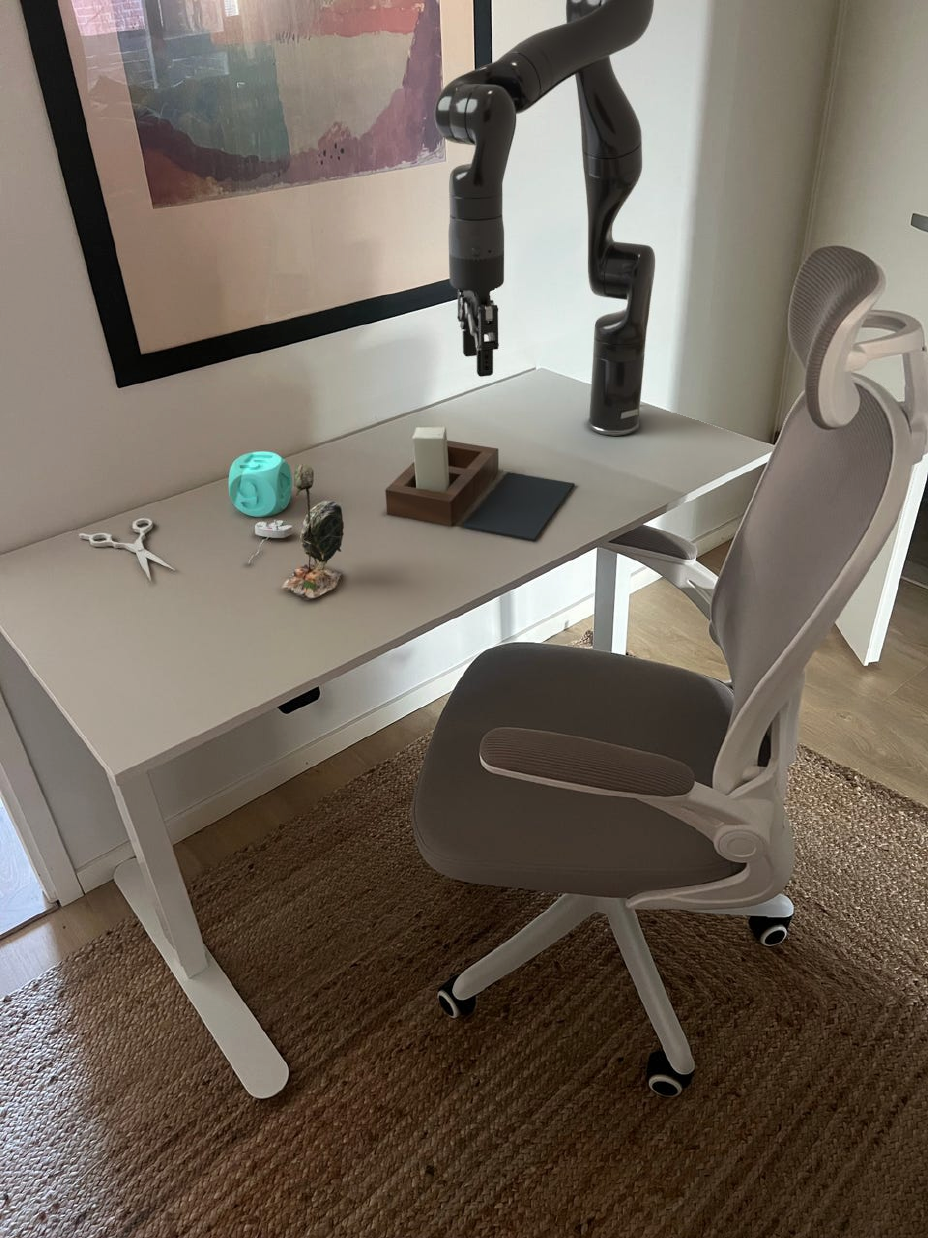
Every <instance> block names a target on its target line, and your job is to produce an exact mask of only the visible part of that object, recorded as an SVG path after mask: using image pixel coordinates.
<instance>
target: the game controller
mask: <svg viewBox="0 0 928 1238" xmlns="http://www.w3.org/2000/svg"><path fill="white" fill-rule="evenodd" d="M254 533H255V535H256V536H261V537H266V539H268V538H275V539H282V538H287V537H289V536H290V535H293V526H292V525H291V524H290V525H289V524H285V525H284V521H283V520H282V519H281V520H278V519H274V520H273V522H271V523H268V521H258V522H257V523H256V524H255V525H254ZM266 539H262V541H261V542H260V544H259V546H258V551H257V553H256V554H253V555H252V556H251V557H250V558H249V560H248V565H250V562H251V560H252V558H253V557H255V556H257V555H258V553H259V552H260V550H261V545H262V543H263V542H264V541H266Z"/></svg>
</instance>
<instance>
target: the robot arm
mask: <svg viewBox="0 0 928 1238" xmlns="http://www.w3.org/2000/svg"><path fill="white" fill-rule="evenodd" d="M565 2H566V3H565V18H566V19H565V20H566V23H563V24H559V25H556V26H553V27H549V28H548V29H544V30H541V31H539V32H536V33H534V34H532V35H530V36H528V37H527V38H525V39H523V40H521V41H520V42H519V43H517V44H516V45H515V46H513V47H512V48H511V49H510V50H509V51H507V52H506V53H504V54H503V55H501V57H499V58H498V59H497V60H495V61H493V62H491V63H489V64H485V65H482V66H480V67H478V68H476V69H473V70H471V71H468V72H466V73H463V74H462V75H460V76H458V77H456V78H454V79H453V80H451V81H450V82H449V83H447V85H446V86H444V88H442V90H441V92H440V93H439V95H438V96H437V99H436V101H435V105H434V110H433V122H434V124H435V125H434V126H435V128H436V129H437V132H438V133H439V135H440V136H441V137H443V139H445V140H447V141H449V142H451V143H454V144H460V145H461V144H462V145H468V146H474V153H473V157H472V160H471V162H470V163H465V164H461V165H458V166H456V167H455V168H453V169H452V170H451V172H450V174H449V183H448V185H449V186H448V193H449V195H448V196H449V224H448V268H449V269H448V272H449V284H450V285H451V287H453V288H454V289H455V290H456V289H457V316H456V317H457V318H456V319H457V321H458V322H460V324H459V327H460V329H461V330H462V354H463V356H465V357H468V358H469V357H476V374H477V376H479V377H481V378H482V377H490V376H493V375H494V374H493V373H494V350H495V351H496V350H499V347H500V343H499V307H498V305H497V304H494V299H492V297H491V292H493V290H494V289H499V288H501V286H502V285H503V284H504V283H505V227H504V226H505V225H504V217H503V203H504V202H503V200H504V199H503V195H504V194H503V183H504V182H503V181H504V177H505V173H506V170H507V165H508V161H509V156H510V153H511V148H512V144H513V140H514V137H515V134H516V128H517V115H519V114H522V113H525V112H526V111H528V110H529V109H531V108H532V107H533V106H534V105H536V104H537V103H538V102H539V101H541V99H543V98H544V97H545V96H547V95H548V94H549V93H550V92H552V91H553V90H554V89H556V88H557V87H558V86H559V85H561V84H562V83H564V82H565V81H566V80H568V79H569V78H572V77H573V76H574V77H575V83H576V90H577V98H578V99H577V100H578V108H579V109H578V110H579V119H580V133H581V134H580V137H581V155H582V167H583V175H584V184H585V195H586V209H587V276H588V278H587V279H588V284H589V288H590V290H591V292H592V293H593V294H594V295H596V296H598V297H600V298H601V297H602V298H607V299H614V300H623V301H627V304H626V308H624V309H622V310H619V311H615V312H611V313H607V314H604V315H602V316H600V317H599V318H597V319H596V321H595V324H594V330H593V332H594V333H593V349H592V369H591V385H590V400H589V401H590V402H589V417H588V422H587V423H588V427H589V429H590V430H591V431H593V432H594V433H597V434H600V435H603V436H613V437H614V436H615V437H617V436H618V437H619V436H626V435H630V434H633V433H635V432H636V431H638V430H639V428H640V427H639V426H640V410H641V409H640V408H641V400H642V399H641V398H642V388H643V376H644V366H645V365H644V364H645V354H646V353H645V352H646V341H647V330H648V323H649V318H650V309H651V308H650V307H651V301H652V300H651V299H652V293H653V285H654V280H655V279H654V278H655V272H656V254H655V251H654V249H653V247H652V246H650V245H648V244H642V243H631V242H623V241H615V240H614V238H613V226H614V222H615V220H616V219H617V216H618V214H619V212H620V211H621V209H622V207H623V206H624V204H625V203H626V201H627V200H628V198H629V197H630V195H631V194H632V192H633V191H634V189H635V187H636V186H637V184H638V182H639V180H640V177H641V175H642V171H643V142H642V140H643V139H642V138H643V136H642V128H641V125H640V120H639V119H638V116H637V113H636V112H635V110H634V108H633V106H632V103H631V102H630V101H629V98H628V97H627V95H626V93H625V91H624V90H623V88H622V85H621V84H620V82H619V80H618V78H617V76H616V74H615V71H614V69H613V65H612V61H611V57H610V56H612V55H614V54H616V53H618V52H621V51H622V50H624V49H627V48H629V47H630V46H632V45H634V44H635V43H636V42H638V41H639V40H640V39H641V38H642V37H643V35H644V33H646V31H647V30H648V27H649V26H650V22H651V20H652V16H653V12H654V5H655V0H566V1H565ZM485 335H486V336H487V337H488V340H485Z"/></svg>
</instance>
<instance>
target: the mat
mask: <svg viewBox="0 0 928 1238" xmlns="http://www.w3.org/2000/svg"><path fill="white" fill-rule="evenodd" d="M574 487H575V483H574V482H568V481H563V480H556V479H551V478H545V477H540V476H533V475H526V474H522V473H515V472H510V471H507V472H506V473H505V474H504V476H503V477H501V479H500V480H499V482H498V483H497V484H496V485H495V486H494V488H493V489H492V490H491V491H490V492H489V493H488V495H487V496H486V497H485V498H484V499H483V500H482V502H481V503H480V504H479V505H478V507H477V508H476V509H475V510H474V511H473V512H472V513H471V514H470V516H469V517H468V518H467V519H466V521H465V522H464V523H463V524H462V528H463V529H468V530H471V531H478V532H483V533H489V534H492V535H498V536H503V537H508V538H513V539H519V540H525V541H530V542H536V540H537V539H538V538H539V536H540V535H541V533H542V532H543V530H544V529H545V527H546V526H547V525H548V523H549V522H550V520H551V519H552V517H553V516H554V515H555V514H556V512H557V511H558V509H559V508H560V507H561V505H562V503H564V501H565V499H566V498H567V496H569V494H570V492H572V489H573V488H574Z"/></svg>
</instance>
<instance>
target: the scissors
mask: <svg viewBox="0 0 928 1238" xmlns="http://www.w3.org/2000/svg"><path fill="white" fill-rule="evenodd" d="M142 524H147V525H146V526H144V527H139V525H142ZM153 526H154V525H153V521H152V520H151V519H150V518H139V519H136V520H135V521H133V522H132V526H131V527H132V530H133V531H132V532H133V533H138V534H139V536H138V538H137V539H136V540H135V541H134V542H133V543H130V542H129V543H128V542H117V541H114V540H113V535H112V534H110V533H108V532H107V533H106V532H98V533H94V534H88V533H87V534H86V533H83V532H82V533H81V532H80V533H79V534H78V535H79V538H80V539H81V540H87V541H89V544H90V545H91V546H92V547H95V548H97V547H99V548H101V547H102V548H103V547H113V548H115V549H118V548H119V549H120V548H121V549H126V550H128V551H129V552H132V553H135V554H136V556H137V559H138V562H139V563H140V565H141V567H142V569H143V571H144V572H145V575H146V576H147V578H148V580H149V581H152V579H151V574H150V570H149V569H150V568H149V565H148V559H149V560H150V561H153V562H155V563H158V564H160V565H163V567H167V568H170V569H171V570H173V571H176V569H175V568H173V567H172V566H171V565H169V563H167V562H165V561H163V560H162V559H161V558H159V557H158V556H156V555H155V554H153V553H151V551H149V550H147V549H145V547H144V544H143V541H144V540H145V539H146V535H145V534H147V533H148V532H150V531H151V530H152V529H153ZM98 539H105V540H102V541H95V540H98Z"/></svg>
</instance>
